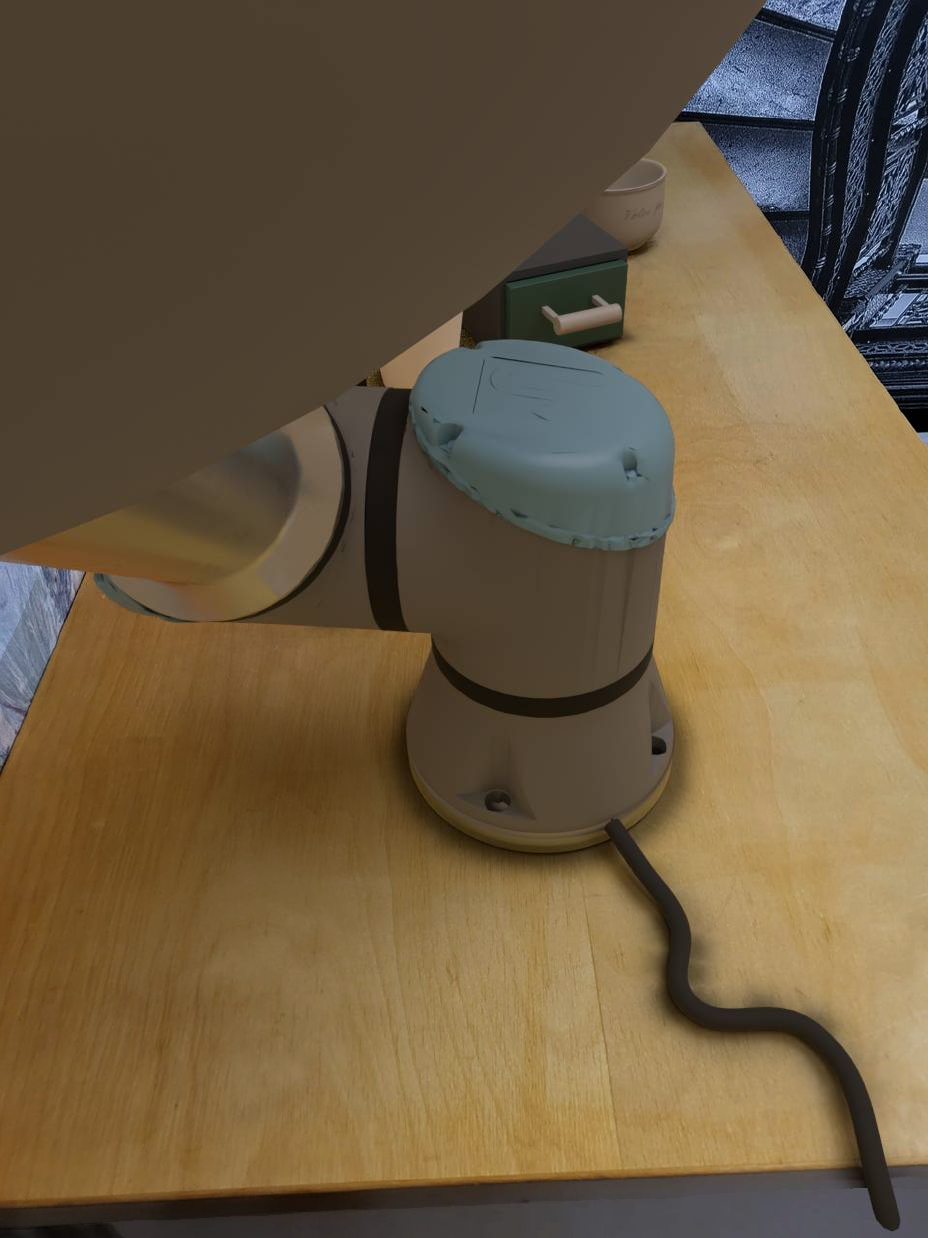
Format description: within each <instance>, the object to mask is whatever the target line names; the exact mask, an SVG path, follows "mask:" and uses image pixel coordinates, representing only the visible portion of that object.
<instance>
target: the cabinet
mask: <svg viewBox="0 0 928 1238" xmlns="http://www.w3.org/2000/svg"><path fill="white" fill-rule="evenodd" d="M628 257H629V251H628V247H627V246H625V245H624V244H622V243H621V242H620V241H618V240H617V239H615V238H614V237H612V236H611V235H610V234H608V233H607V232H605V231H604V230H603V229H601V228H600V227H598V226H597V225H595V224H594V223H593V222H591V221H590V220H588V219H587V218H585V217H584V216H583V215H581V214H580V213H579V214H578V215H577V216H576V217H575V218H573V219H572V220H571V221H570V222H569V223H568V224H567V225H565V226H564V227H563V228H562V229H561V230H560V231H559V232H558V233H556V234H555V235H554V236H553V237H552V238H551V239H550V240H548V241H547V242H546V243H545V244H544V245H543V246H542V247H540V248H539V249H538V250H537V251H536V252H535V253H533V254H532V255H531V256H530V257H529V258H528V259H527V260H525V261H524V262H523V263H522V264H521V265H520V266H518V267H517V268H516V269H515V270H514V271H513V272H511V273H510V274H509V275H508V276H507V277H506V278H505V279H503V280H502V281H501V282H500V283H499V284H498V285H496V286H495V287H494V288H493V289H492V290H491V291H489V292H488V293H487V294H486V295H485V296H484V297H483V298H481V299H480V300H478V301H477V302H476V303H474V304H473V305H471V306H470V307H468V308H467V309H465V310H464V311H463V315H462V324H461V328H463V329H464V330H465V331H466V332H467V334H469V335H470V337H472V339H473V340H474V341H475V342H476V343H477V344H478V343H479V342H483V341H492V340H506V292H505V284H507V283H508V282H510V281H515V280H520V279H524V278H529V277H534V276H539V275H544V274H549V273H553V272H558V271H563V270H568V269H573V268H578V267H582V266H587V265H592V264H597V263H602V262H606V263H608V262H613V261H617V260H623V261H625V262H626V263H627V264H628ZM622 337H623V335H622V336H617V337H613V338H609V339H604V340H600V341H596V342H591V343H587V344H583V345H578V346H574V347H570V348H574V349H577V350H578V349H580V348H586V347H590V346H594V345H599V344H604V343H607V342H611V341H616V340H620V339H622Z"/></svg>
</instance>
